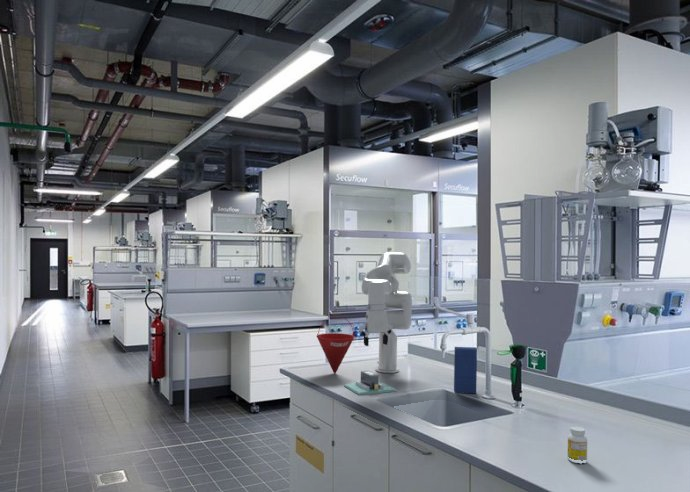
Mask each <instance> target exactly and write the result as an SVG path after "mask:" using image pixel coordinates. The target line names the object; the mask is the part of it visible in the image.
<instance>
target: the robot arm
mask: <svg viewBox="0 0 690 492" xmlns="http://www.w3.org/2000/svg"><path fill="white" fill-rule="evenodd" d="M411 267H412V264H411V260H410V258H409V257H408V255H407V254H405V253H404V252H384V253H383V254H381V256H379V260H378V262H377V266H376V267H375V268H373V269H370V270H369V271H367V272H366V273H365V274H364V276H363V279H362V282H361V292H362V293H363V294H364V295H366V296H368V300H367V301H368V303H367V305H365V309H367V310H366V314H365V317H364V318H365V320H364V324H362V325H360V326H359V327H358V331H359V333H360V334H361V335H362V337H363V345H364V346H366V347H368V346H369V341H370V340H369V336H370V334H378V361H376V362H377V364H378V366H376V367H375V371H376V372H378V373H382V374H383V373H385V374H395V373H399V372H400V368H399V367H397V364H398V363H397V359H398V357H397V356H398V337H397V334H396V333H395V330H402V331H406V330H409V329H410V327H411V325H412V324H411V323H412V310H413V307H412V306H413V298H412V295H411V293H410V292H408V291H400V290H399V289H400V288H399V285H400V284H399V283H400V282H399V280H398V279H397V277H396V276H395V275H394V274H396V275H398V274H399V275H407V274H409V273H410V272H411ZM386 309H390V310H386ZM391 309H392V310H391ZM393 309H394V310H393ZM400 310H402V311H400Z"/></svg>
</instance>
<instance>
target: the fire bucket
mask: <svg viewBox="0 0 690 492" xmlns="http://www.w3.org/2000/svg"><path fill="white" fill-rule="evenodd" d="M335 316H337V317H340V318H343V319H344V320H345V321H347V322H348V323H349V325H350V326H351V330H352V332H353V333H352V334H347V333H340V332H339V333H336V332H333V333H332V332H331V333H321V334H320V330H321V327H322V325H323V324H324V322H326V321H327V320H329V319H330V318H333V317H335ZM324 322H322V323H321V324H320V326H319V329H318V333H317V335H316V338H317V340H318V342H319V345H320V346H321V349H322V351H323V354H324V355H325V357H326V360H327V361H328V364H329V366H330V368H331V370H332V372H333V374H336V373H337V372H338V370H339V368H340V366H341V364H342V362H343V360H344V358H345V356H346V354H347V352H348V351H349V349H350V347H351V345H352V343H353V341H354V339H355V337H356V336H355V331H354V328H353V326H352V324H351V322H350V321H349V320H348V319H346V318H345V317H343V316H341V315H337V314H335V315H332V316H331V315H330V316H329V317H327V318H326V319H324Z"/></svg>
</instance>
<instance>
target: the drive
mask: <svg viewBox="0 0 690 492" xmlns="http://www.w3.org/2000/svg"><path fill="white" fill-rule="evenodd" d="M379 377H380V376H379V374H376V373H374V372H372V371H370V370H361V371H360V382H362V383H364V384H365V385H367V386H369V389H370V390H372V389H374V384H378V381H379Z"/></svg>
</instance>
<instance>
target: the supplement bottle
mask: <svg viewBox="0 0 690 492" xmlns="http://www.w3.org/2000/svg"><path fill="white" fill-rule="evenodd" d="M569 430H570V434H568V435H567V458H568V457H569V458H571V459H574V460H581V461H583V460H587V461H588V438H587V437H586V436H585V435H586V430H585V428H583V427H580V426H570V428H569Z"/></svg>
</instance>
